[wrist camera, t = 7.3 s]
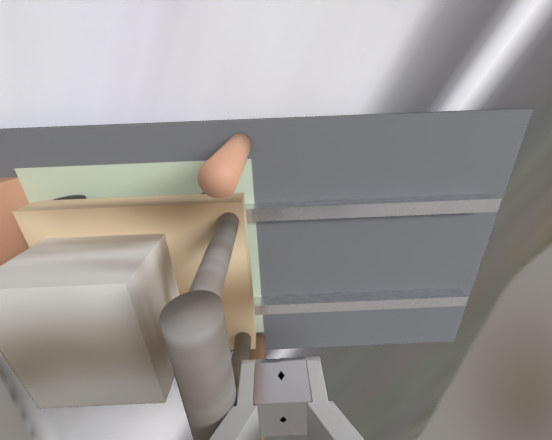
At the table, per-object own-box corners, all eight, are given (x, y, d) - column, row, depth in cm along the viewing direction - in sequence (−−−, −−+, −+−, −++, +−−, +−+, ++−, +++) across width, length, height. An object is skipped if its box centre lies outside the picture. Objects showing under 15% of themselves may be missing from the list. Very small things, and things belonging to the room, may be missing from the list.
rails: (18, 212, 16) (2, 219, 15) (488, 193, 16) (501, 198, 15) (66, 312, 19) (56, 323, 18) (455, 295, 19) (465, 305, 18)
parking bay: (-25, 143, 14) (-272, 179, 8) (251, 132, 14) (235, 158, 8) (78, 352, 21) (-8, 466, 14) (266, 344, 21) (264, 453, 14)
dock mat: (-21, 129, 15) (-40, 131, 14) (516, 108, 15) (533, 109, 14) (83, 347, 22) (74, 357, 21) (446, 331, 22) (454, 341, 21)
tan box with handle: (49, 195, 15) (-284, 339, 6) (247, 187, 15) (214, 317, 6) (104, 327, 19) (-43, 528, 10) (258, 320, 19) (248, 514, 10)
